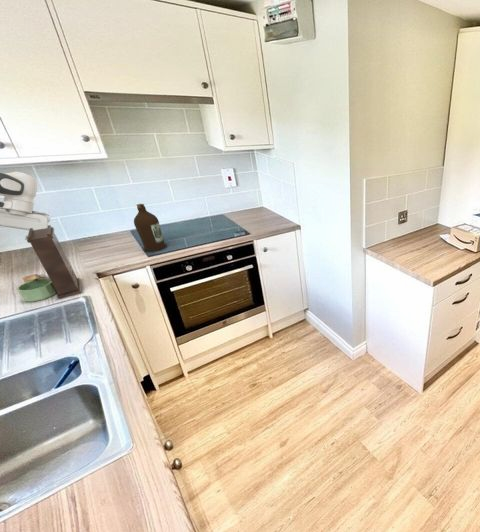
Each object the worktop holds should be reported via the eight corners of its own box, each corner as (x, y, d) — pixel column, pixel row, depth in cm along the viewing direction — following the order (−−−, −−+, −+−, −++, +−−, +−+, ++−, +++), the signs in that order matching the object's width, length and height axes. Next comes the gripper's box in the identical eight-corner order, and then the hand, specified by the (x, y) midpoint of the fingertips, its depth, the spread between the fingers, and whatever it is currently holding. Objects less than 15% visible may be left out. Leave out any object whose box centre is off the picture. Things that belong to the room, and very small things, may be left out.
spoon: (24, 282, 129) (21, 277, 128) (38, 279, 147) (36, 275, 146) (36, 278, 131) (34, 274, 130) (49, 277, 149) (47, 273, 148)
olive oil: (139, 252, 174) (122, 207, 163) (151, 244, 183) (135, 201, 172) (160, 251, 175) (144, 207, 163) (170, 244, 184) (156, 201, 173)
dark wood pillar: (58, 299, 133) (25, 238, 120) (59, 285, 142) (28, 227, 130) (81, 293, 137) (51, 234, 125) (80, 279, 147) (52, 224, 134)
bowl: (22, 305, 128) (15, 293, 126) (24, 294, 135) (18, 283, 132) (58, 296, 135) (52, 285, 132) (59, 286, 141) (53, 275, 139)
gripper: (49, 215, 156) (44, 242, 154) (-19, 202, 140) (-26, 233, 138) (52, 213, 153) (47, 241, 151) (-18, 200, 136) (-25, 232, 134)
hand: (11, 237), depth 144 cm, fingers open, 8 cm apart
